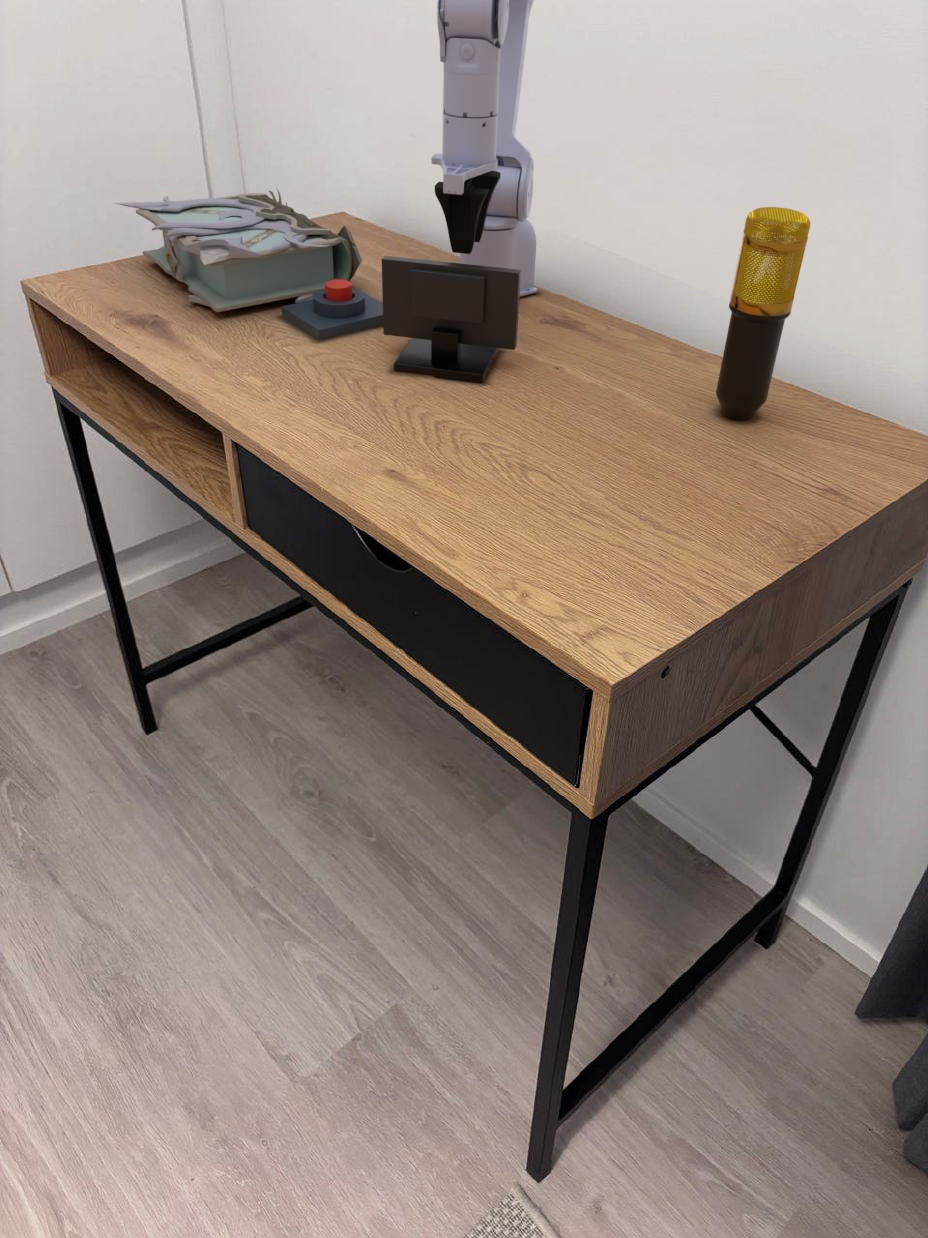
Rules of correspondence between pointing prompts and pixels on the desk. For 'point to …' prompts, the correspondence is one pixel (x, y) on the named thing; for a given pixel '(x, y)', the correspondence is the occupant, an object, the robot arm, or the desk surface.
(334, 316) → the switch box
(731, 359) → the microphone
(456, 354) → the monitor stand
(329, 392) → the desk surface
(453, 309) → the screen
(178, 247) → the ornate book
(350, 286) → the power button
